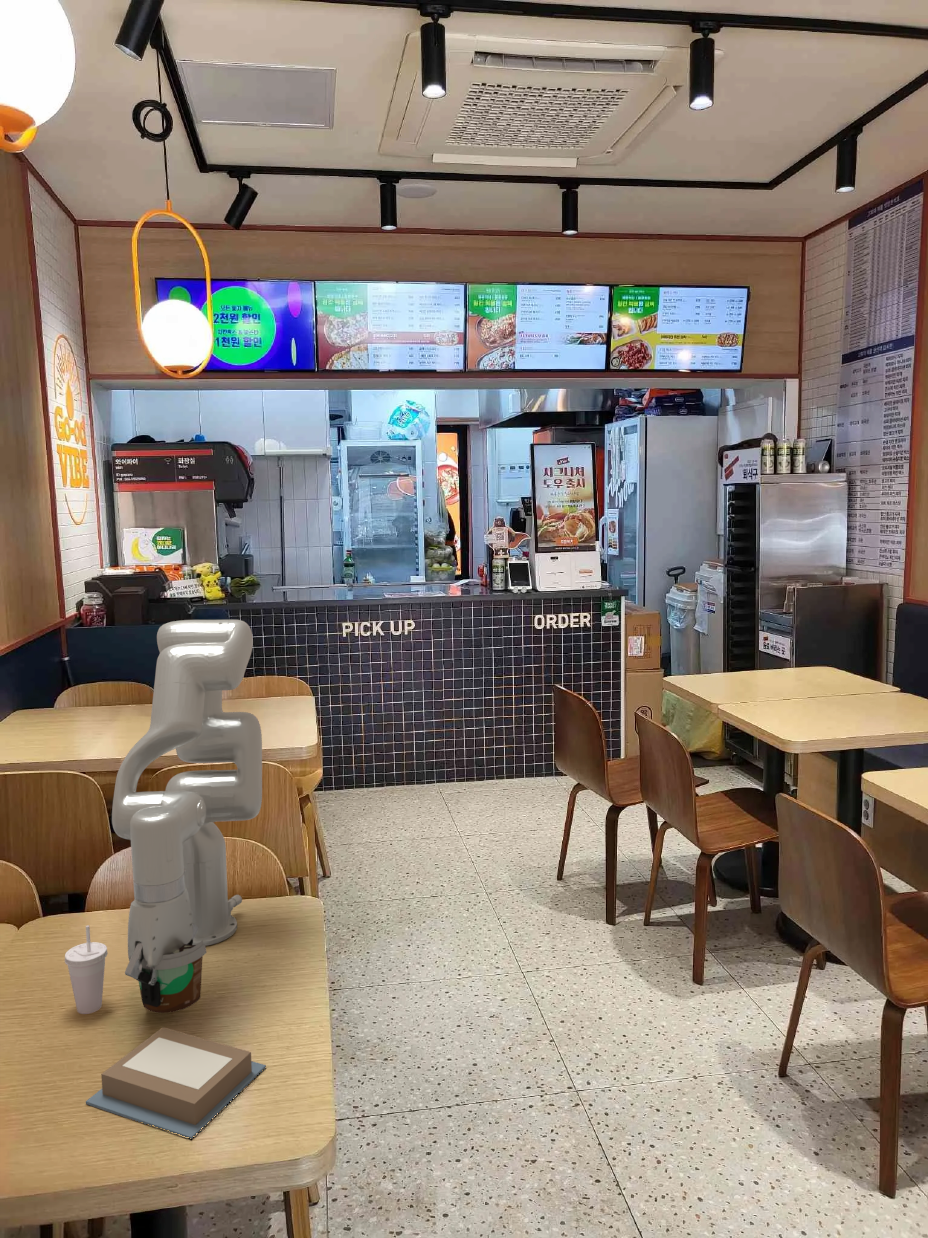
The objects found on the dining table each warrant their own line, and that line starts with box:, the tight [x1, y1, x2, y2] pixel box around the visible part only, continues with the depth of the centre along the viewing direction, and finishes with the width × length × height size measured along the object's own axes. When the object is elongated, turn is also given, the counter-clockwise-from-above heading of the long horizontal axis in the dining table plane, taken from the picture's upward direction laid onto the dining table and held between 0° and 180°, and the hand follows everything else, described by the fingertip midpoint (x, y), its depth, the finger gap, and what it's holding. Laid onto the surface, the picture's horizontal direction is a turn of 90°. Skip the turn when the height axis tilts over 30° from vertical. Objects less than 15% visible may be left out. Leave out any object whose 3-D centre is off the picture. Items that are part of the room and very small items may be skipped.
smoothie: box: [64, 925, 108, 1015], centre depth 142 cm, size 6×6×14 cm
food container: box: [138, 940, 208, 1014], centre depth 139 cm, size 12×6×10 cm, turn 80°
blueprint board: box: [85, 1026, 267, 1140], centre depth 123 cm, size 16×18×4 cm
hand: (165, 992), depth 140 cm, fingers closed on food container, 5 cm apart
